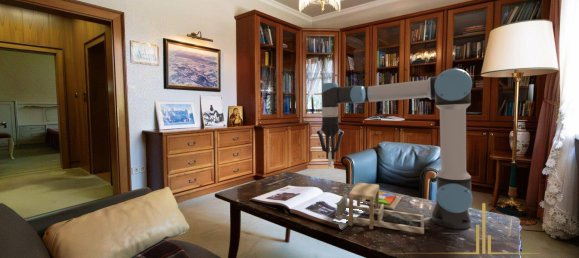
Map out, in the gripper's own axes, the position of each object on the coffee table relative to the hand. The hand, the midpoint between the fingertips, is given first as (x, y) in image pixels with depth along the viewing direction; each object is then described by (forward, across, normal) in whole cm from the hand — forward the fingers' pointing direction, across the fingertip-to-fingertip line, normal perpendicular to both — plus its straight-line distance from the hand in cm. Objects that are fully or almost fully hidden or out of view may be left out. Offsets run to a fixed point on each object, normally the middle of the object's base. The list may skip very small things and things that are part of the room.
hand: (330, 165), depth 133 cm
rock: (+24, -30, +3) cm, 38 cm away
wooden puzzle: (+24, -20, -25) cm, 40 cm away
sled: (+22, -23, +2) cm, 32 cm away
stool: (+23, -16, +2) cm, 28 cm away
